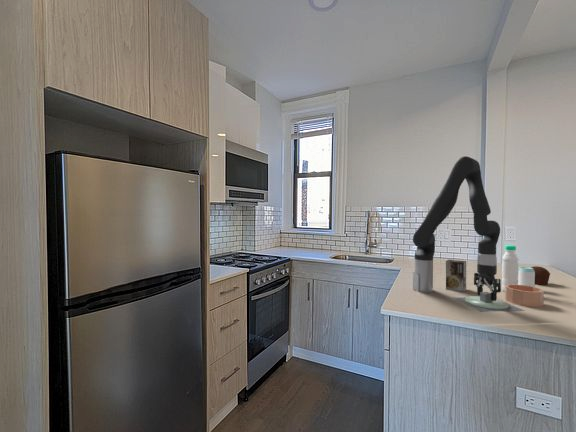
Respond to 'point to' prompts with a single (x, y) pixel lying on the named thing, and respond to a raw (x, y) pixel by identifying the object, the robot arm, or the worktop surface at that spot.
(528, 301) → the bowl
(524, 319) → the worktop surface
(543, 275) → the muffin
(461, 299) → the mat
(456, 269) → the coffee box
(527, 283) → the can
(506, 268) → the water bottle
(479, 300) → the lid
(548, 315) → the worktop surface
